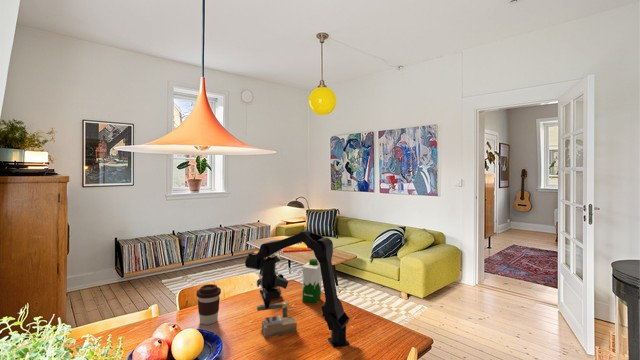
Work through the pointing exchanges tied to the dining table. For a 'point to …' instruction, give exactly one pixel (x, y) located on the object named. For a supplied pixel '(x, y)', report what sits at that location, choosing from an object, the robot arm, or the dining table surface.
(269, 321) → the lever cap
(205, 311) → the coffee cup
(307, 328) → the dining table surface
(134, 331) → the dining table surface
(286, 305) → the lever
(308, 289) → the milk carton
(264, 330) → the grey lever base
